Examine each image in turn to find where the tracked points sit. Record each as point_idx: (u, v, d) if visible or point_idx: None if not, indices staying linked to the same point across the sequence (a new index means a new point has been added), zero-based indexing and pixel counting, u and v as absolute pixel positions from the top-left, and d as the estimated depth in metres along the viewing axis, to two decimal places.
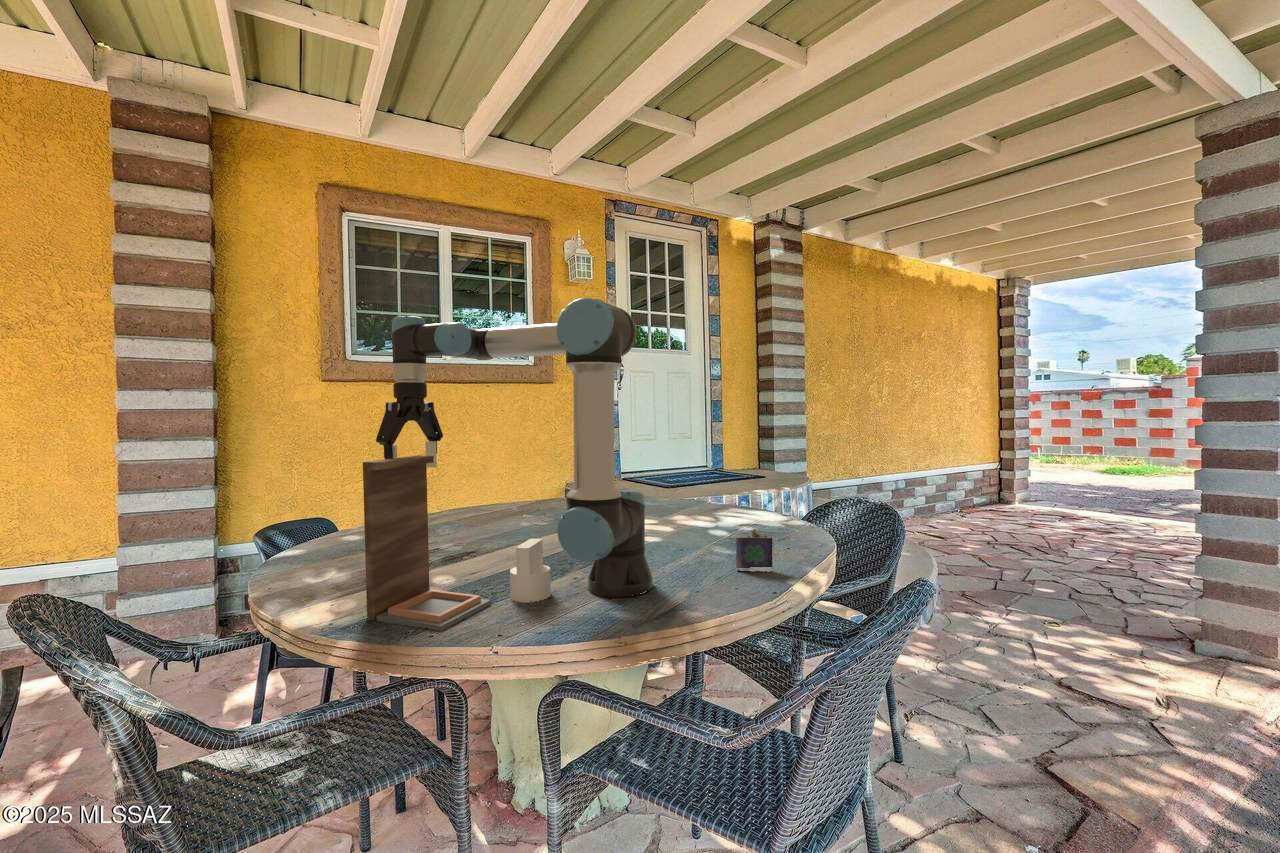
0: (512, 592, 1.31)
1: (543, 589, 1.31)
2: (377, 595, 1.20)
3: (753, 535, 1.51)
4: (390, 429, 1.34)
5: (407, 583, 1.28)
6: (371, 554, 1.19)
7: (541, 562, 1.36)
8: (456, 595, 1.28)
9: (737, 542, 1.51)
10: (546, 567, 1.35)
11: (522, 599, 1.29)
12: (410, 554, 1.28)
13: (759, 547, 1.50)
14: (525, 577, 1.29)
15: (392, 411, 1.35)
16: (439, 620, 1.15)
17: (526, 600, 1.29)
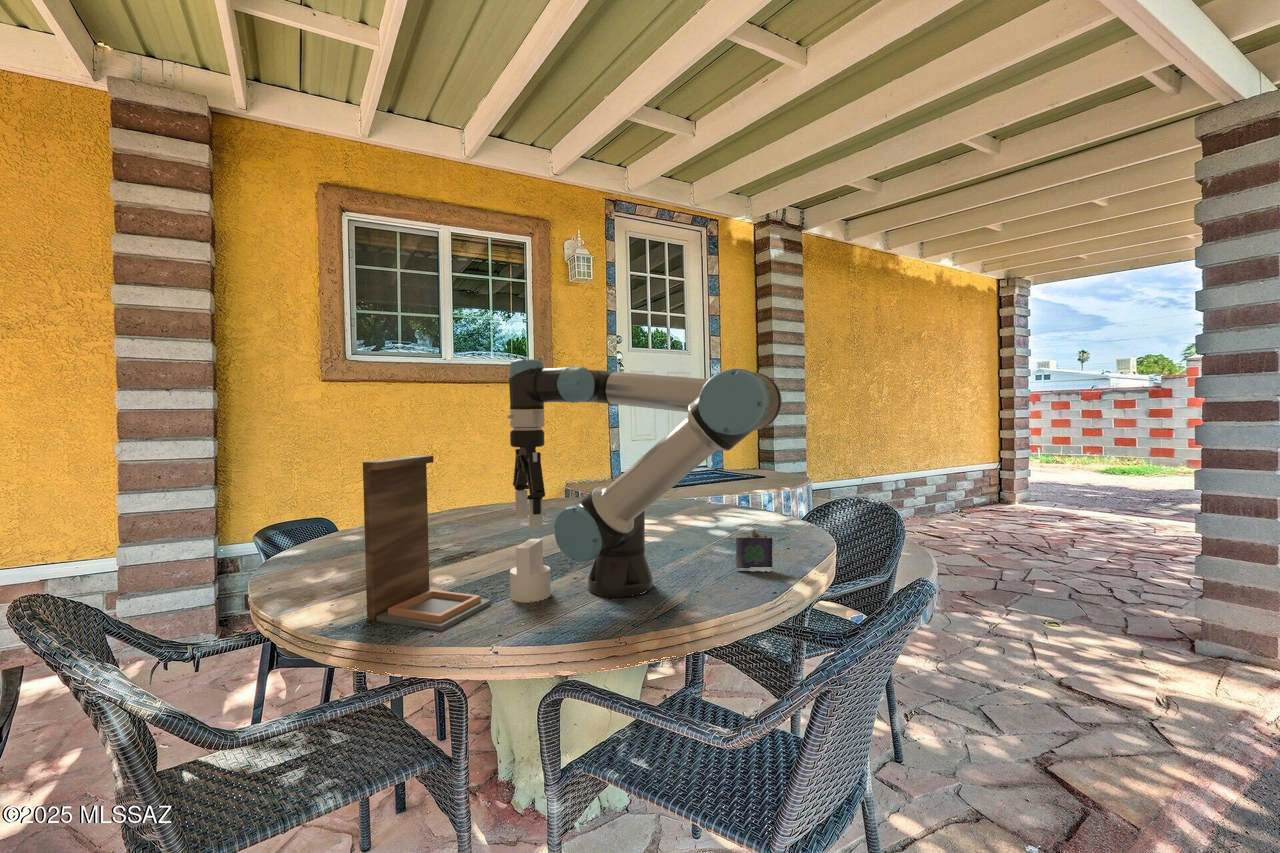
0: (512, 592, 1.31)
1: (543, 589, 1.31)
2: (377, 595, 1.20)
3: (753, 535, 1.51)
4: (542, 482, 1.26)
5: (407, 583, 1.28)
6: (371, 554, 1.19)
7: (541, 562, 1.36)
8: (456, 595, 1.28)
9: (737, 542, 1.51)
10: (546, 567, 1.35)
11: (522, 599, 1.29)
12: (410, 554, 1.28)
13: (759, 547, 1.50)
14: (525, 577, 1.29)
15: (539, 462, 1.27)
16: (439, 620, 1.15)
17: (526, 600, 1.29)
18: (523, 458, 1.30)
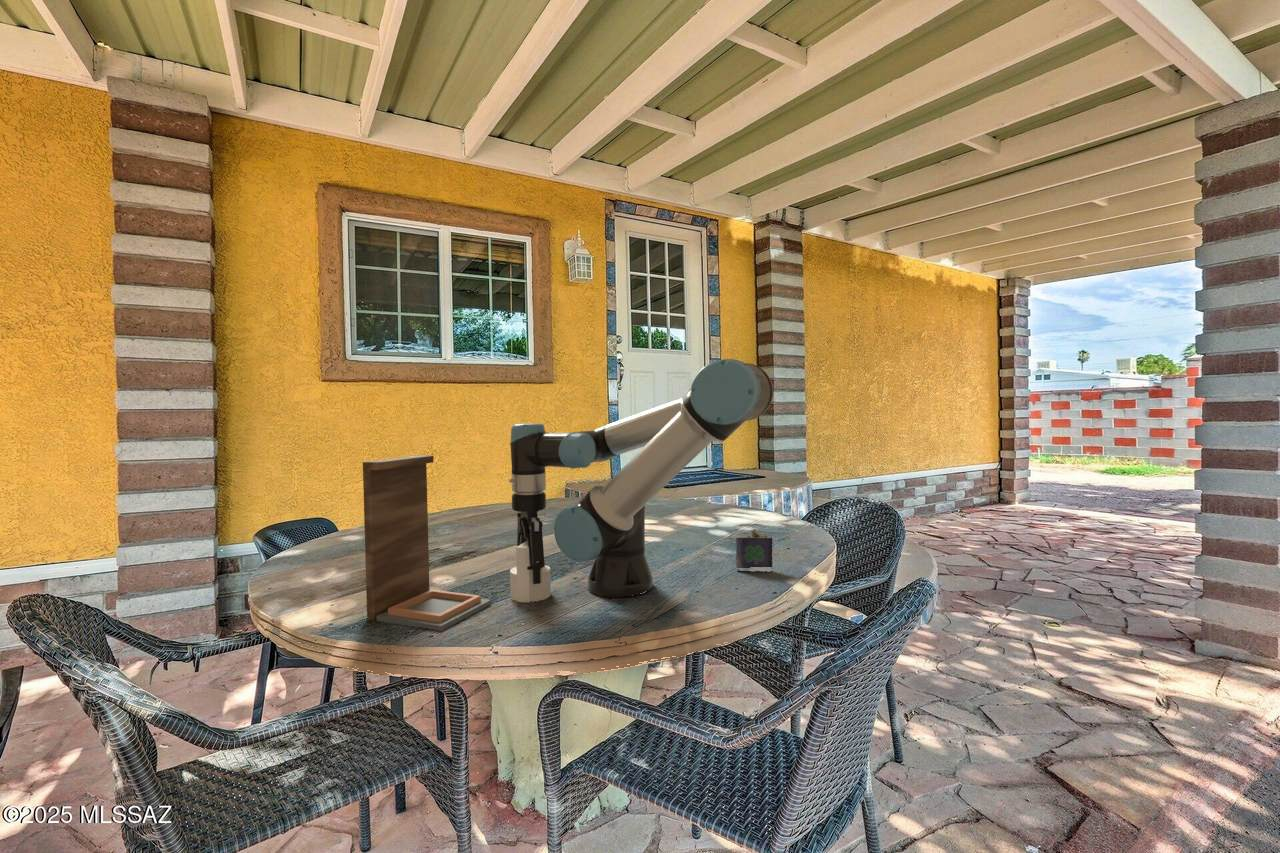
0: (512, 592, 1.31)
1: (543, 589, 1.31)
2: (377, 595, 1.20)
3: (753, 535, 1.51)
4: None
5: (407, 583, 1.28)
6: (371, 554, 1.19)
7: None
8: (456, 595, 1.28)
9: (737, 542, 1.51)
10: (546, 567, 1.35)
11: (522, 599, 1.29)
12: (410, 554, 1.28)
13: (759, 547, 1.50)
14: (525, 577, 1.29)
15: (540, 532, 1.28)
16: (439, 620, 1.15)
17: (526, 600, 1.29)
18: (525, 523, 1.31)
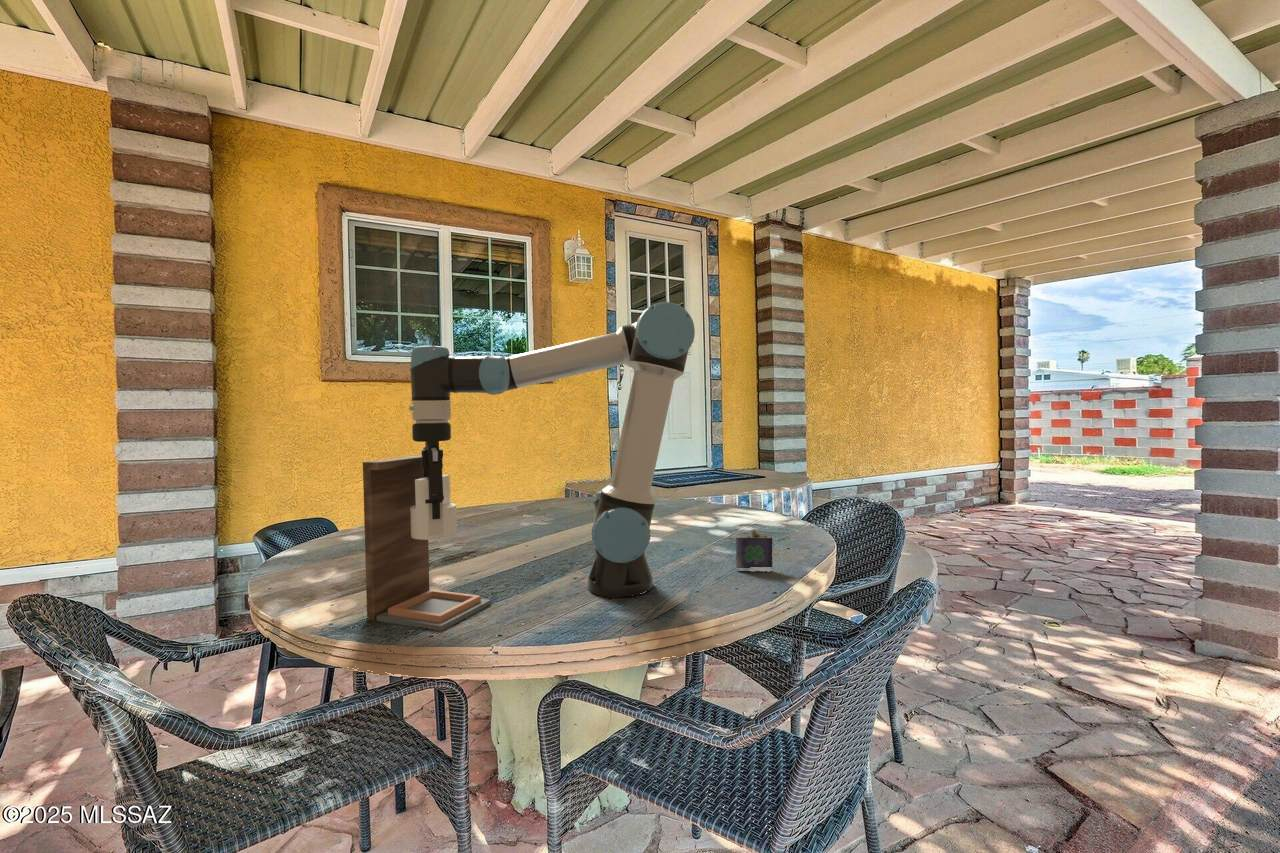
0: (412, 529, 1.20)
1: (445, 526, 1.20)
2: (377, 595, 1.20)
3: (753, 535, 1.51)
4: None
5: (407, 583, 1.28)
6: (371, 554, 1.19)
7: (447, 499, 1.26)
8: (456, 595, 1.28)
9: (737, 542, 1.51)
10: (452, 504, 1.24)
11: (421, 536, 1.19)
12: (410, 554, 1.28)
13: (759, 547, 1.50)
14: (424, 512, 1.18)
15: (440, 462, 1.17)
16: (439, 620, 1.15)
17: (426, 537, 1.18)
18: (425, 454, 1.20)
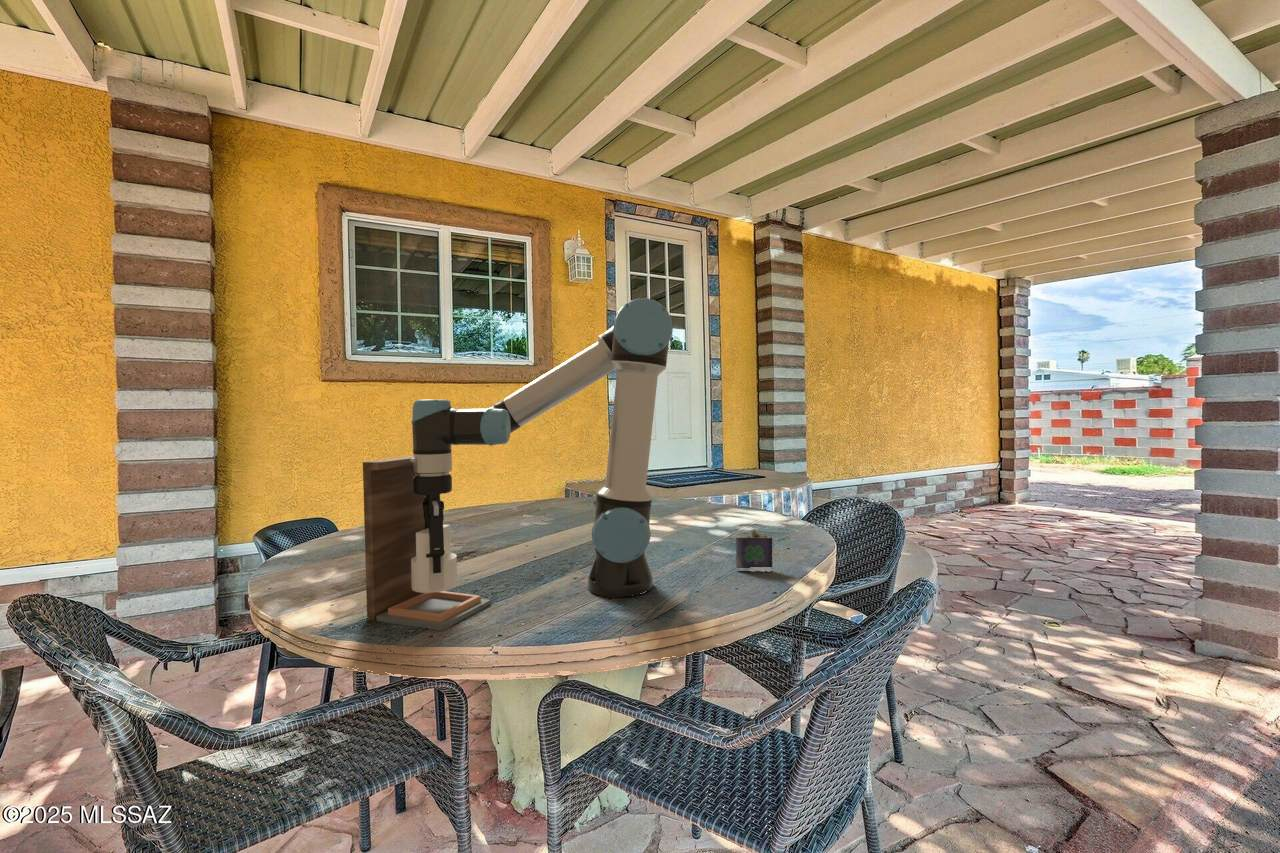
0: (412, 582, 1.20)
1: (446, 578, 1.20)
2: (377, 595, 1.20)
3: (753, 535, 1.51)
4: None
5: (407, 583, 1.28)
6: (371, 554, 1.19)
7: (448, 550, 1.26)
8: (456, 595, 1.28)
9: (737, 542, 1.51)
10: (453, 555, 1.25)
11: (422, 589, 1.19)
12: (410, 554, 1.28)
13: (759, 547, 1.50)
14: (425, 565, 1.19)
15: (441, 516, 1.17)
16: (439, 620, 1.15)
17: (426, 590, 1.19)
18: (426, 507, 1.20)
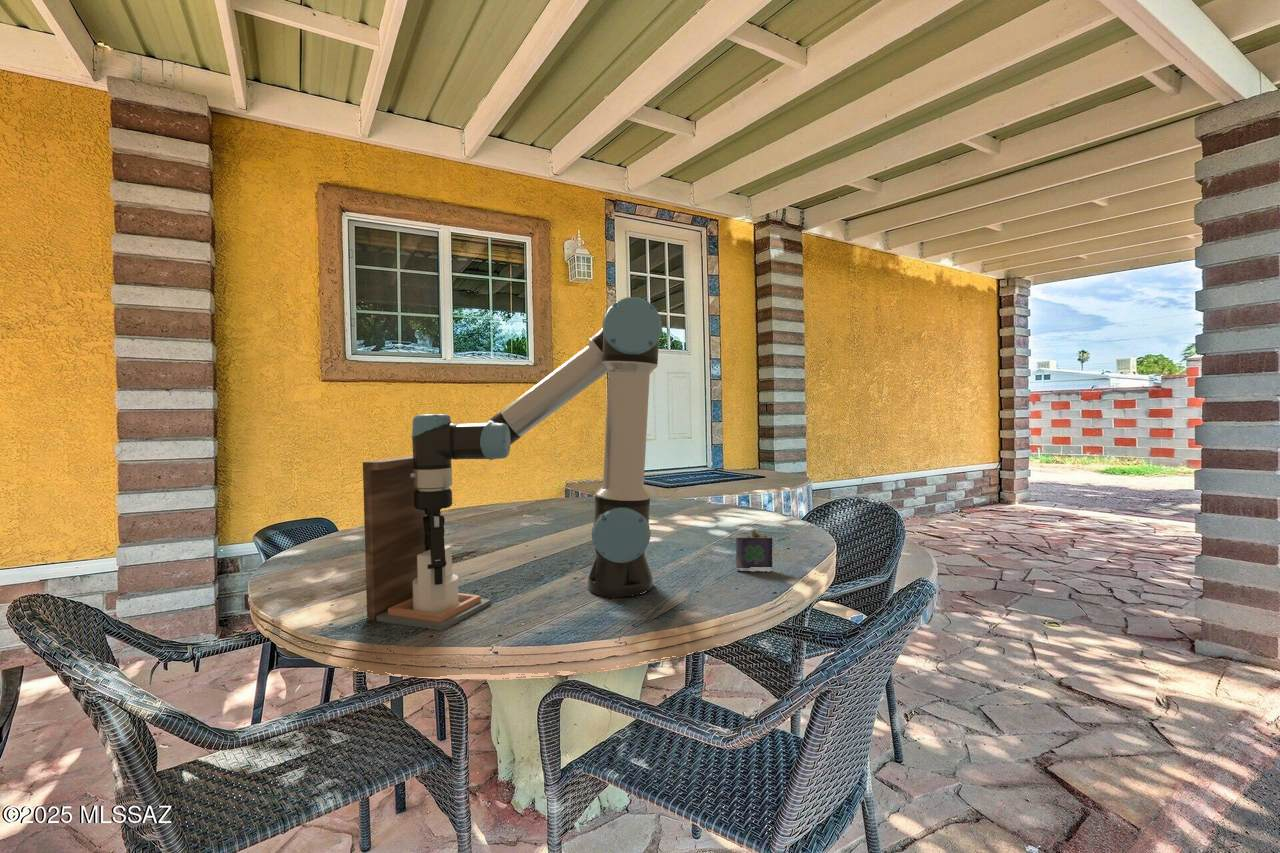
0: (414, 604, 1.21)
1: (447, 600, 1.20)
2: (377, 595, 1.20)
3: (753, 535, 1.51)
4: None
5: (407, 583, 1.28)
6: (371, 554, 1.19)
7: (449, 571, 1.26)
8: None
9: (737, 542, 1.51)
10: (454, 576, 1.25)
11: (423, 611, 1.19)
12: (410, 554, 1.28)
13: (759, 547, 1.50)
14: (426, 588, 1.19)
15: (441, 527, 1.17)
16: (439, 620, 1.15)
17: None
18: (427, 521, 1.20)
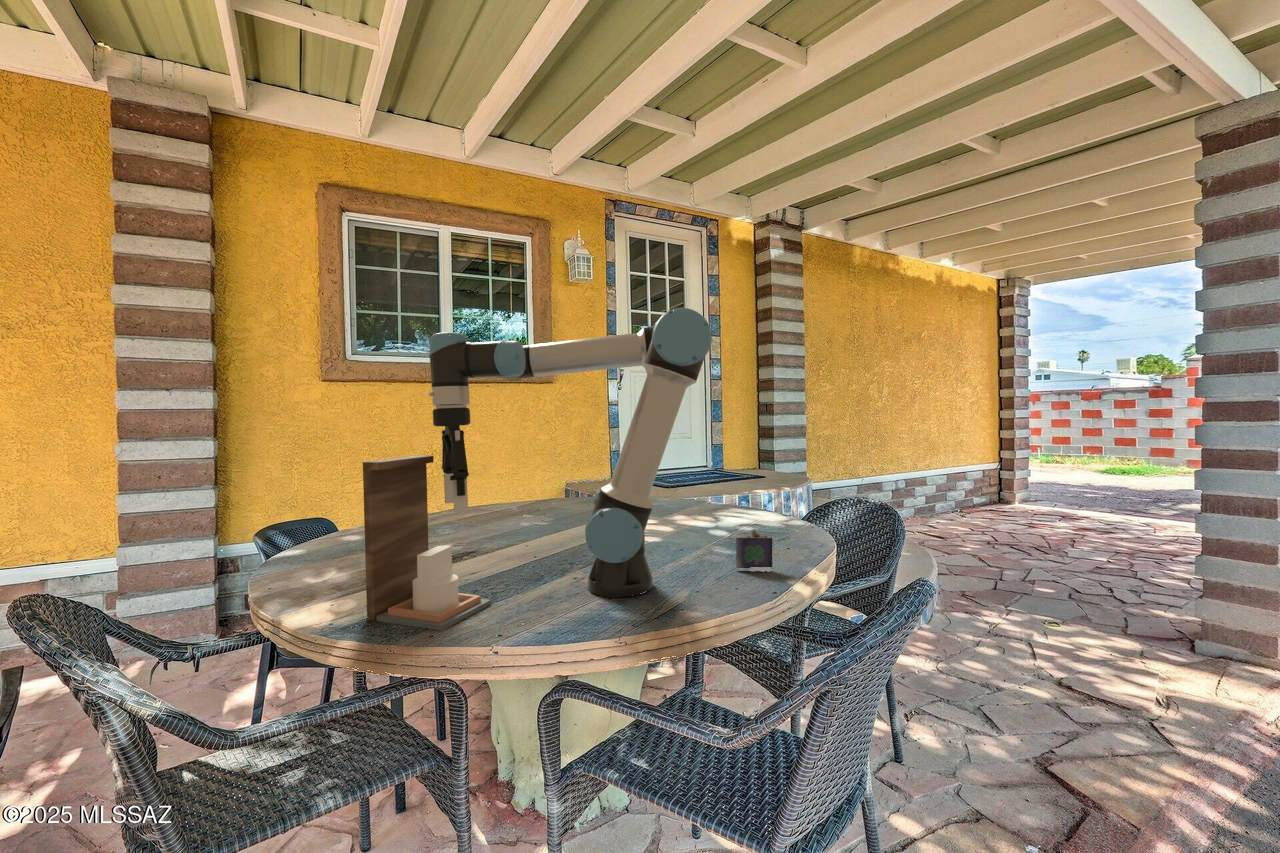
0: (414, 604, 1.21)
1: (447, 600, 1.20)
2: (377, 595, 1.20)
3: (753, 535, 1.51)
4: None
5: (407, 583, 1.28)
6: (371, 554, 1.19)
7: (449, 571, 1.26)
8: None
9: (737, 542, 1.51)
10: (454, 576, 1.25)
11: (423, 611, 1.19)
12: (410, 554, 1.28)
13: (759, 547, 1.50)
14: (426, 588, 1.19)
15: (462, 441, 1.19)
16: (439, 620, 1.15)
17: None
18: (447, 437, 1.23)
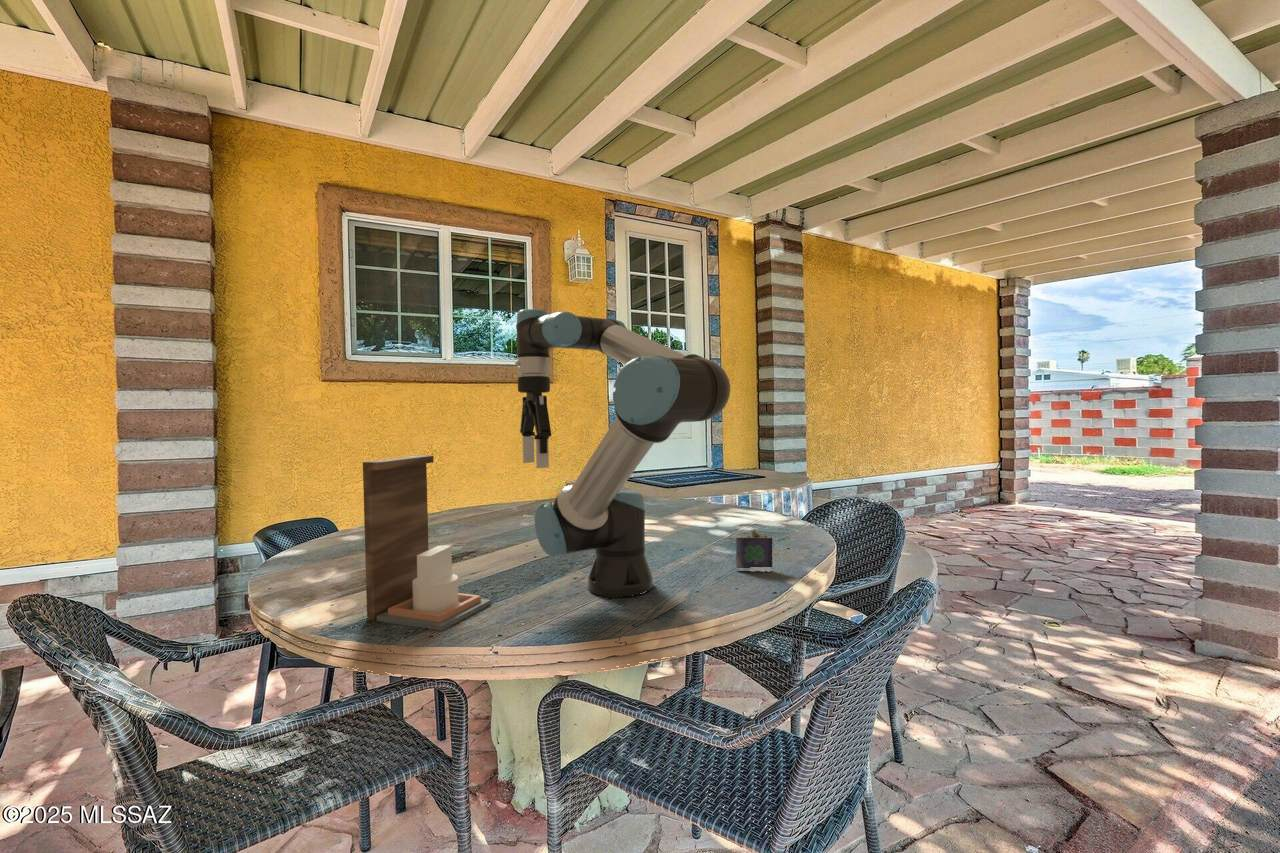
0: (414, 604, 1.21)
1: (447, 600, 1.20)
2: (377, 595, 1.20)
3: (753, 535, 1.51)
4: None
5: (407, 583, 1.28)
6: (371, 554, 1.19)
7: (449, 571, 1.26)
8: None
9: (737, 542, 1.51)
10: (454, 576, 1.25)
11: None
12: (410, 554, 1.28)
13: (759, 547, 1.50)
14: (426, 588, 1.19)
15: (545, 405, 1.35)
16: (439, 620, 1.15)
17: None
18: (530, 402, 1.38)
